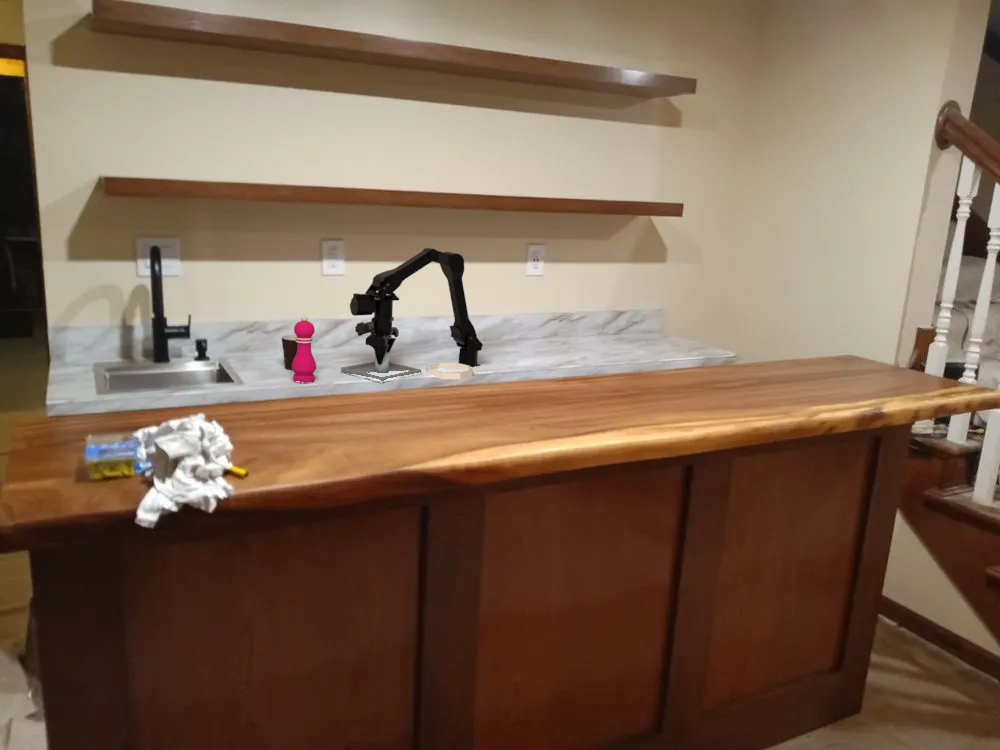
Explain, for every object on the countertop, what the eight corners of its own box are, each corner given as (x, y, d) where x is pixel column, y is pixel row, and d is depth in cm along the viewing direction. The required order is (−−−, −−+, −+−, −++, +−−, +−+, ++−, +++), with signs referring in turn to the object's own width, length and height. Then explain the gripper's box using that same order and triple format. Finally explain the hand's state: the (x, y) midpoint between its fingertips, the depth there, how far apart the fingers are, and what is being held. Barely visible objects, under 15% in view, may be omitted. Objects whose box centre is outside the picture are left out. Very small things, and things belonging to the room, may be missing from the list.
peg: (381, 368, 258) (382, 350, 256) (391, 371, 256) (392, 353, 254) (371, 370, 255) (372, 352, 253) (381, 374, 252) (382, 356, 250)
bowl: (446, 367, 269) (446, 360, 269) (480, 375, 261) (480, 368, 261) (417, 373, 258) (417, 366, 257) (451, 382, 250) (452, 375, 249)
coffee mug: (301, 372, 250) (302, 341, 248) (276, 369, 252) (276, 338, 249) (317, 364, 261) (317, 335, 259) (293, 361, 263) (293, 332, 260)
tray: (381, 364, 268) (381, 359, 267) (421, 374, 257) (421, 369, 257) (341, 372, 253) (341, 367, 253) (381, 383, 243) (381, 378, 243)
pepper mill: (293, 377, 243) (294, 313, 238) (317, 378, 244) (318, 314, 239) (289, 383, 236) (289, 317, 231) (314, 384, 237) (314, 318, 232)
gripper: (366, 308, 261) (365, 354, 264) (349, 316, 243) (348, 366, 246) (399, 310, 260) (398, 357, 263) (385, 319, 241) (383, 369, 245)
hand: (381, 362), depth 254 cm, fingers open, 5 cm apart
